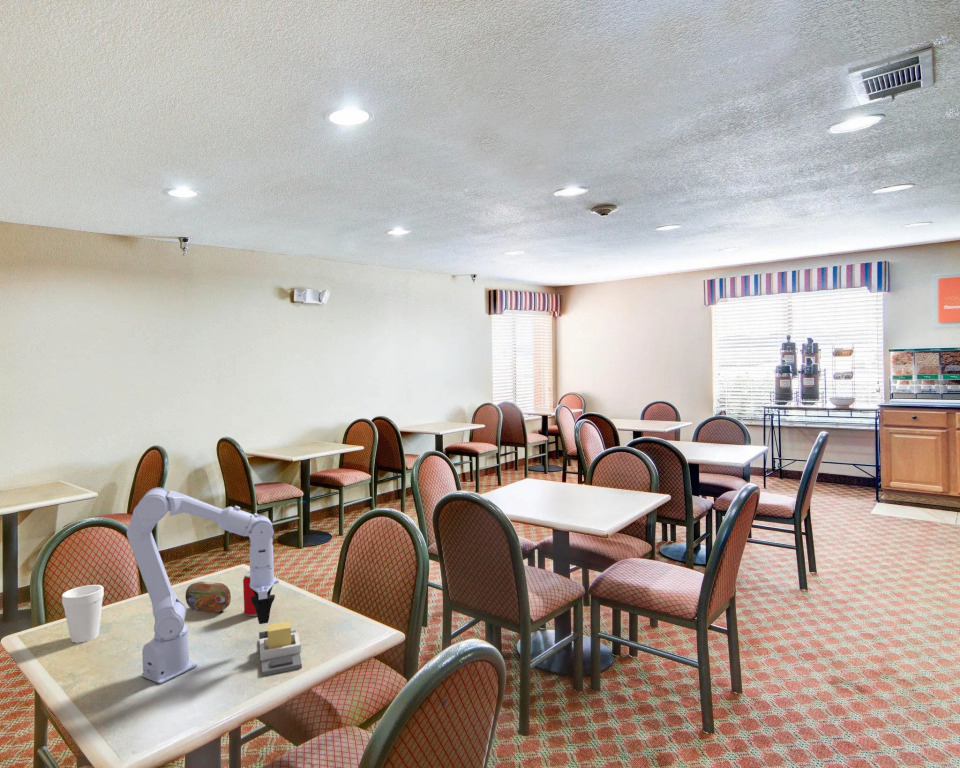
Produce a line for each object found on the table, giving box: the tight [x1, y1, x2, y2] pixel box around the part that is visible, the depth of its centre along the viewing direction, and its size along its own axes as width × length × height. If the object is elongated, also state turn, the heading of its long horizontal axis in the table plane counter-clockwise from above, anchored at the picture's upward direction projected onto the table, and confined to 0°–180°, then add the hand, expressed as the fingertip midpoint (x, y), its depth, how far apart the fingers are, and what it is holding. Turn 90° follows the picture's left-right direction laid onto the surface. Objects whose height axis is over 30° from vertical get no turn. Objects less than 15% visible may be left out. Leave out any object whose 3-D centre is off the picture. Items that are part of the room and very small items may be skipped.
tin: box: [184, 581, 232, 614], centre depth 177 cm, size 15×3×8 cm, turn 73°
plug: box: [258, 621, 292, 649], centre depth 148 cm, size 4×8×6 cm, turn 111°
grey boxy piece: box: [259, 630, 303, 677], centre depth 148 cm, size 20×10×3 cm, turn 22°
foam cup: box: [61, 584, 105, 644], centre depth 160 cm, size 10×9×13 cm
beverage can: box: [242, 571, 257, 617], centre depth 174 cm, size 6×6×12 cm
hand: (263, 617), depth 150 cm, fingers open, 7 cm apart
